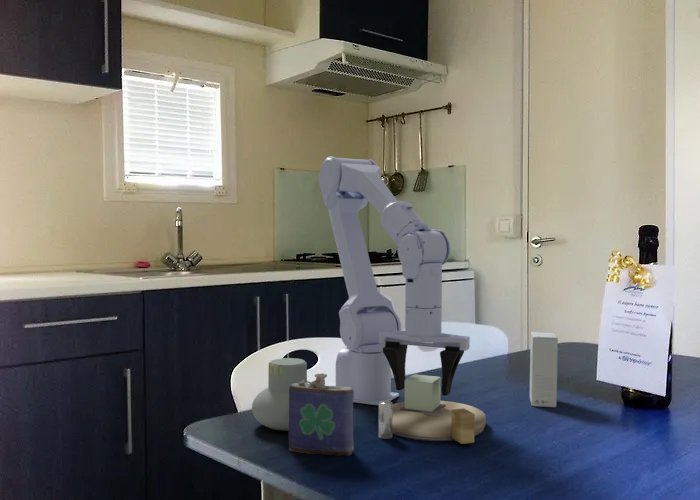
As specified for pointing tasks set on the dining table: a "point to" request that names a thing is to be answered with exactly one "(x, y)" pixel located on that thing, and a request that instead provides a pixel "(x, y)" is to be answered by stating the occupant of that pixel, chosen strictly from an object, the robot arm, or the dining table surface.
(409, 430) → the disc
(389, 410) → the turntable base
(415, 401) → the sage block
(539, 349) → the skincare box
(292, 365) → the grey bulbous piece
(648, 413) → the dining table surface
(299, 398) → the flask
